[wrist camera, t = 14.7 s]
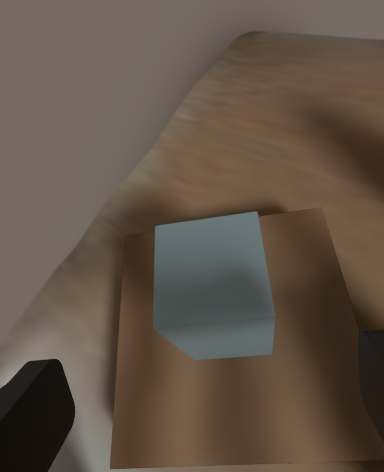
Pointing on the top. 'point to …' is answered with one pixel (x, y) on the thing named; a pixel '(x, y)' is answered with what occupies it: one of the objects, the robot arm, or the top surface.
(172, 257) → the slate block
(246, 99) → the top surface
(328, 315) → the walnut block
